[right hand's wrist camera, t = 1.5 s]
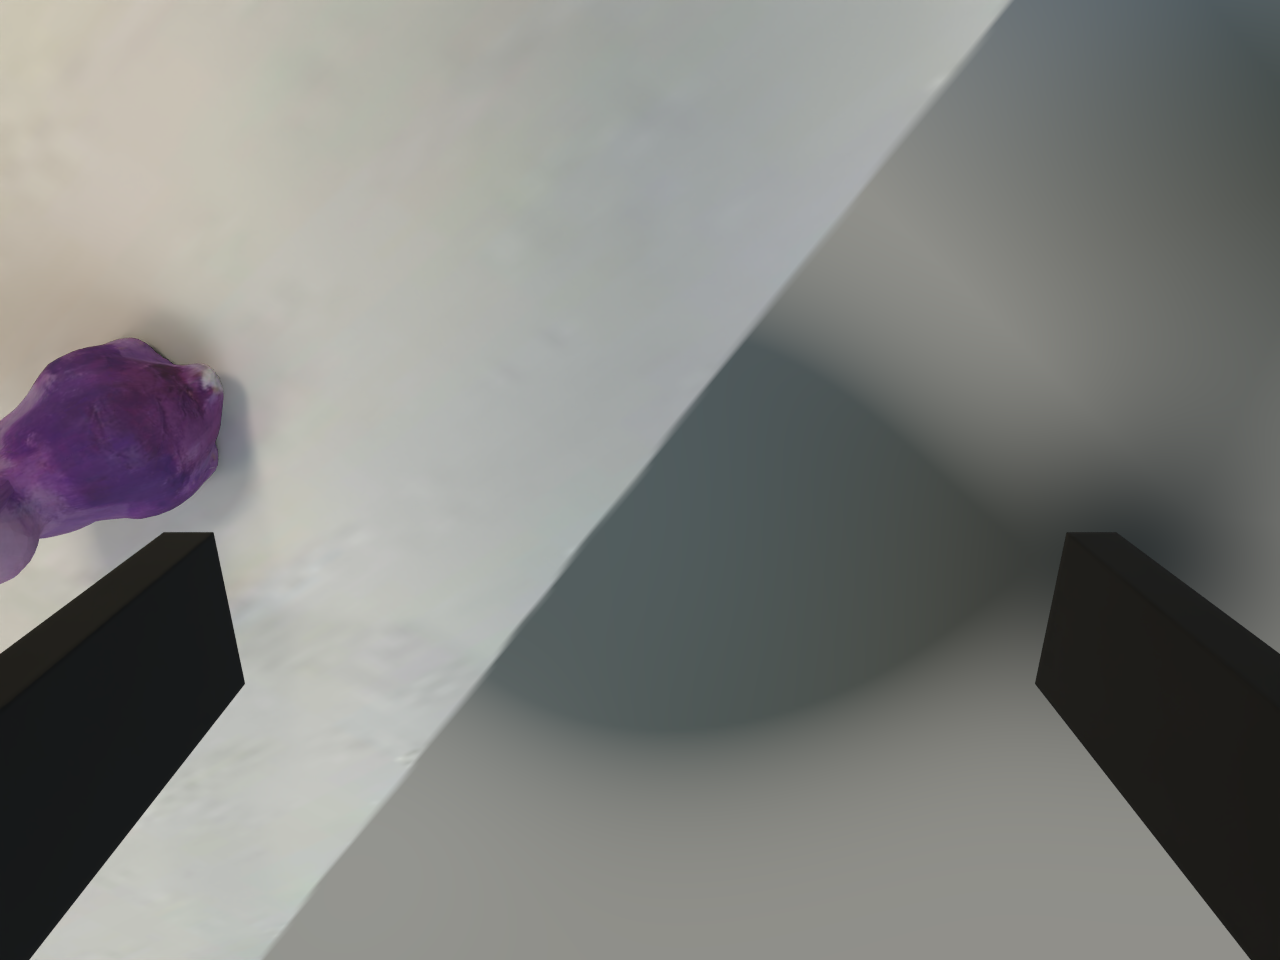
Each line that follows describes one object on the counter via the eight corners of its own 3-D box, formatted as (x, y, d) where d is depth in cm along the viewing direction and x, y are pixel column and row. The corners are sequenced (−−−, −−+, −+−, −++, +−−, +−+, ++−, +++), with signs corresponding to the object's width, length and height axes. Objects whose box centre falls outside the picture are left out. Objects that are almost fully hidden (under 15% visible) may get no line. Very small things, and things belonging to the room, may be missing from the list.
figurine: (49, 504, 42) (-247, 667, 28) (43, 313, 38) (-299, 391, 24) (231, 541, 43) (32, 718, 29) (242, 357, 39) (20, 457, 25)
